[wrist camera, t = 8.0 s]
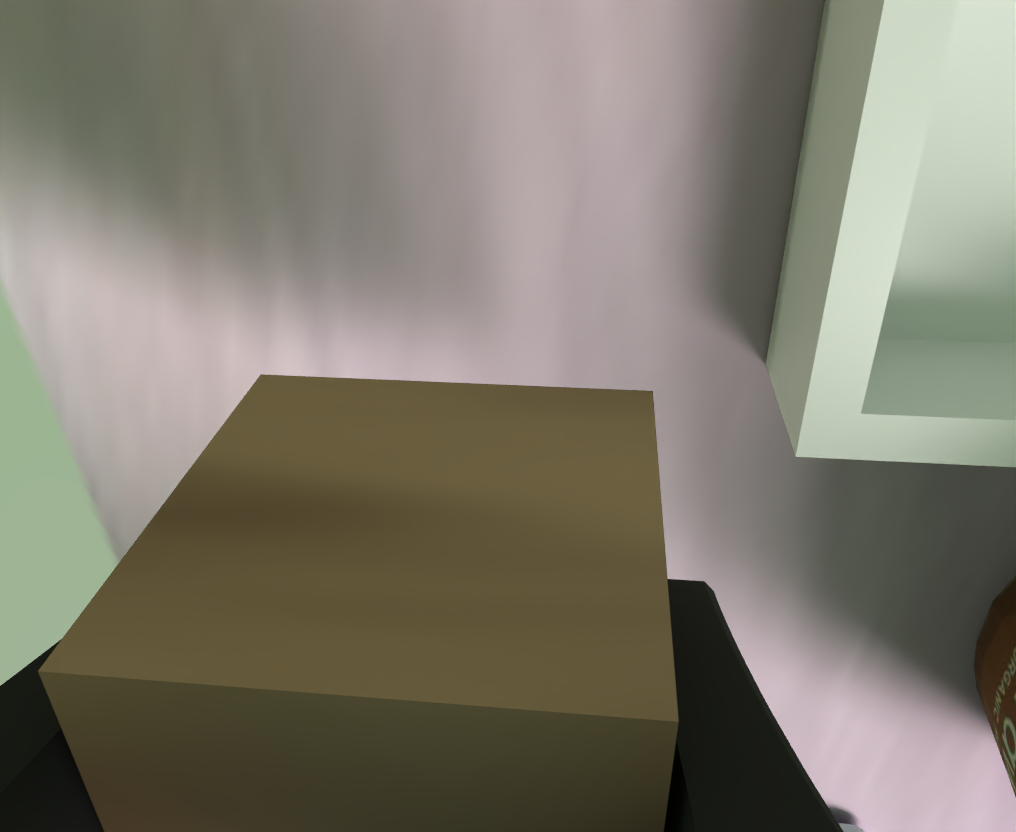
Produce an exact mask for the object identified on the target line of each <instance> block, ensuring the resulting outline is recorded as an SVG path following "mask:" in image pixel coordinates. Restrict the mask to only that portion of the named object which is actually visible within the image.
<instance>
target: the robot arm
mask: <svg viewBox="0 0 1016 832" xmlns="http://www.w3.org/2000/svg"><path fill="white" fill-rule="evenodd" d="M667 580H668V593H669V606H670V619H671V631H672V644H673V657H674V669H675V682H676V695H677V708H678V720H679V723H678V730H677V737H676V745H675V752H674V759H673V767H672V774H671V782H670V789H669V796H668V804H667V811H666V818H665V826H664V832H864V831H863V829H861V828H859V827H857V826H855V825H851V824H843V823H838V822H837V820H836V819H835V817H834V816H833V814H832V813H831V811H830V810H829V808H828V807H827V805H826V803H825V802H824V800H823V799H822V797H821V795H820V794H819V792H818V790H817V789H816V787H815V786H814V784H813V782H812V781H811V779H810V778H809V776H808V774H807V773H806V771H805V769H804V768H803V766H802V764H801V762H800V761H799V759H798V757H797V756H796V754H795V752H794V750H793V749H792V747H791V745H790V743H789V742H788V740H787V738H786V736H785V735H784V733H783V731H782V730H781V728H780V726H779V724H778V723H777V721H776V719H775V717H774V716H773V714H772V712H771V710H770V709H769V707H768V705H767V703H766V701H765V699H764V697H763V696H762V694H761V692H760V690H759V688H758V686H757V684H756V682H755V680H754V678H753V676H752V674H751V673H750V671H749V669H748V667H747V665H746V663H745V661H744V659H743V657H742V655H741V653H740V651H739V649H738V646H737V644H736V642H735V640H734V638H733V636H732V634H731V632H730V629H729V627H728V625H727V623H726V620H725V618H724V616H723V613H722V611H721V609H720V606H719V604H718V601H717V599H716V596H715V593H714V591H713V590H712V589H711V588H710V587H709V586H708V585H707V584H706V583H705V582H704V581H689V580H673V579H667ZM62 639H63V638H62ZM62 639H61V640H62ZM61 640H60V641H61ZM60 641H59V642H60ZM59 642H57V643H56V644H55V645H54V646H52V647H51V648H50V649H48V650H47V651H45V652H44V653H43V654H42V655H41V656H39V657H38V658H36V659H35V660H34V661H32V662H31V663H30V664H29V665H27V666H26V667H25V668H23V669H22V670H21V671H19V672H18V673H17V674H16V675H14V676H13V677H12V678H10V679H9V680H8V681H6V682H5V683H4V684H2V685H1V686H0V832H104V830H103V828H102V825H101V823H100V820H99V818H98V815H97V813H96V811H95V808H94V806H93V803H92V801H91V799H90V796H89V794H88V791H87V789H86V786H85V784H84V782H83V779H82V777H81V774H80V772H79V769H78V767H77V765H76V762H75V760H74V757H73V755H72V753H71V750H70V748H69V745H68V743H67V740H66V738H65V736H64V733H63V731H62V728H61V726H60V724H59V721H58V719H57V716H56V714H55V711H54V709H53V707H52V704H51V702H50V699H49V697H48V695H47V692H46V690H45V687H44V685H43V682H42V680H41V678H40V675H39V673H38V670H39V669H40V668H41V666H42V665H43V664H44V662H45V661H46V660H47V658H48V657H49V656H50V654H51V653H52V652H53V650H54V649H55V648H56V646H57V645H58V644H59Z"/></svg>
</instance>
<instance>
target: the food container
mask: <svg viewBox="0 0 1016 832" xmlns="http://www.w3.org/2000/svg"><path fill="white" fill-rule="evenodd" d="M974 670H975V677H976V685H977V690H978V692H979V695H980V698H981V701H982V704H983V706H984V709H985V712H986V715H987V718H988V720H989V723H990V726H991V729H992V732H993V734H994V737H995V740H996V743H997V746H998V748H999V751H1000V754H1001V757H1002V760H1003V762H1004V765H1005V768H1006V771H1007V773H1008V776H1009V779H1010V782H1011V785H1012V787H1013V790H1014V793H1015V796H1016V576H1015V577H1014V578H1013V579H1012V580H1011V582H1010V583H1009V584H1008V585H1007V586H1006V587H1005V588H1004V590H1003V591H1002V592H1001V593H1000V594H999V595H998V596H997V598H996V599H995V600H994V601H993V603H992V606H991V608H990V610H989V613H988V615H987V618H986V620H985V622H984V625H983V627H982V630H981V632H980V635H979V637H978V639H977V643H976V652H975V660H974Z"/></svg>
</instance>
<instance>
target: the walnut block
mask: <svg viewBox="0 0 1016 832" xmlns="http://www.w3.org/2000/svg"><path fill="white" fill-rule="evenodd" d="M38 673H39V675H40V678H41V680H42V682H43V685H44V687H45V690H46V692H47V695H48V697H49V699H50V702H51V704H52V707H53V709H54V711H55V714H56V716H57V719H58V721H59V724H60V726H61V728H62V731H63V733H64V736H65V738H66V740H67V743H68V745H69V748H70V750H71V753H72V755H73V757H74V760H75V762H76V765H77V767H78V769H79V772H80V774H81V777H82V779H83V782H84V784H85V786H86V789H87V791H88V794H89V796H90V799H91V801H92V803H93V806H94V808H95V811H96V813H97V815H98V818H99V820H100V823H101V825H102V828H103V830H104V832H664V826H665V818H666V811H667V804H668V796H669V789H670V782H671V774H672V767H673V759H674V752H675V745H676V737H677V730H678V723H679V720H678V708H677V695H676V682H675V669H674V657H673V644H672V631H671V619H670V606H669V593H668V580H667V568H666V555H665V542H664V530H663V517H662V504H661V491H660V479H659V466H658V453H657V441H656V428H655V415H654V402H653V391H637V390H613V389H589V388H566V387H542V386H518V385H495V384H471V383H447V382H423V381H400V380H376V379H352V378H329V377H305V376H281V375H260V376H259V378H258V379H257V380H256V382H255V383H254V384H253V386H252V387H251V388H250V390H249V391H248V392H247V394H246V395H245V396H244V398H243V399H242V400H241V402H240V403H239V404H238V406H237V407H236V408H235V410H234V411H233V412H232V414H231V415H230V416H229V418H228V419H227V420H226V422H225V423H224V424H223V426H222V427H221V428H220V430H219V431H218V432H217V434H216V435H215V436H214V438H213V439H212V440H211V442H210V443H209V444H208V446H207V447H206V448H205V450H204V451H203V452H202V454H201V455H200V456H199V458H198V459H197V460H196V461H195V463H194V464H193V465H192V467H191V468H190V469H189V471H188V472H187V473H186V475H185V476H184V477H183V479H182V480H181V481H180V483H179V484H178V485H177V487H176V488H175V489H174V491H173V492H172V493H171V495H170V496H169V497H168V499H167V500H166V501H165V503H164V504H163V505H162V507H161V508H160V509H159V511H158V512H157V513H156V515H155V516H154V517H153V519H152V520H151V521H150V523H149V524H148V525H147V527H146V528H145V529H144V531H143V532H142V533H141V535H140V536H139V537H138V539H137V540H136V541H135V543H134V544H133V545H132V547H131V548H130V549H129V551H128V552H127V553H126V555H125V556H124V557H123V559H122V560H121V561H120V563H119V564H118V565H117V567H116V568H115V569H114V571H113V572H112V573H111V575H110V576H109V577H108V579H107V580H106V581H105V583H104V584H103V585H102V587H101V588H100V589H99V591H98V592H97V593H96V595H95V596H94V597H93V599H92V600H91V602H90V603H89V604H88V605H87V607H86V608H85V609H84V611H83V612H82V613H81V615H80V616H79V617H78V619H77V620H76V622H75V623H74V624H73V625H72V627H71V628H70V629H69V631H68V632H67V633H66V635H65V636H64V637H63V639H62V640H61V641H60V642H59V644H58V645H57V646H56V648H55V649H54V650H53V652H52V653H51V654H50V656H49V657H48V658H47V660H46V661H45V662H44V664H43V665H42V666H41V668H40V669H39V670H38Z"/></svg>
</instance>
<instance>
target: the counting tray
mask: <svg viewBox="0 0 1016 832" xmlns="http://www.w3.org/2000/svg"><path fill="white" fill-rule="evenodd" d="M766 368H767V371H768V374H769V377H770V380H771V383H772V386H773V389H774V392H775V395H776V398H777V401H778V404H779V408H780V411H781V414H782V417H783V420H784V423H785V426H786V429H787V432H788V435H789V438H790V441H791V444H792V447H793V450H794V454H795V457H812V458H833V459H854V460H874V461H895V462H916V463H936V464H957V465H978V466H998V467H1016V0H825V3H824V9H823V15H822V21H821V27H820V34H819V40H818V46H817V52H816V58H815V64H814V70H813V77H812V83H811V89H810V95H809V101H808V107H807V114H806V120H805V126H804V132H803V138H802V144H801V150H800V157H799V163H798V169H797V175H796V181H795V187H794V194H793V200H792V206H791V212H790V218H789V224H788V231H787V237H786V243H785V249H784V255H783V261H782V267H781V274H780V280H779V286H778V292H777V298H776V304H775V311H774V317H773V323H772V329H771V335H770V341H769V347H768V354H767V360H766Z"/></svg>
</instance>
